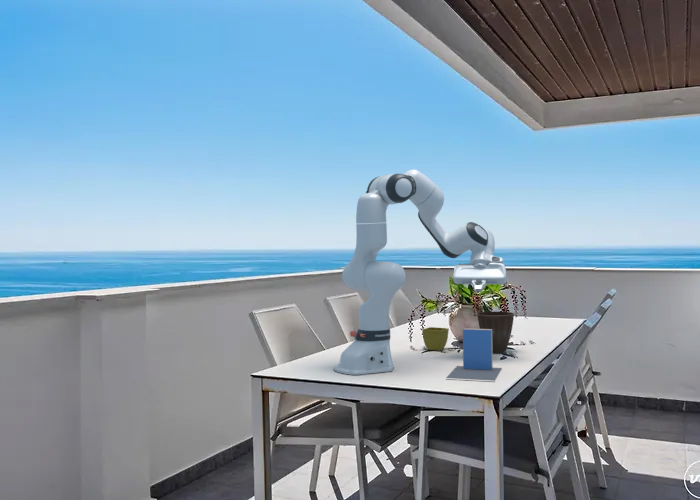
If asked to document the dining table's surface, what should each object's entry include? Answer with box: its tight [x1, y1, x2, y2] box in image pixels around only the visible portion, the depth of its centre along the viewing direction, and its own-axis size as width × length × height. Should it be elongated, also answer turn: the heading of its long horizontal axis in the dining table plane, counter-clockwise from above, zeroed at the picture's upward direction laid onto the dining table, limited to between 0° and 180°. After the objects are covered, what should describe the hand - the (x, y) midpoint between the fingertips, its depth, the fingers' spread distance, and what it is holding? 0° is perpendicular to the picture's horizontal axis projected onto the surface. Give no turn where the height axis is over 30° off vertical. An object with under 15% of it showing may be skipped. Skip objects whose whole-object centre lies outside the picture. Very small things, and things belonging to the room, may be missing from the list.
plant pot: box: [476, 311, 515, 354], centre depth 269 cm, size 15×15×16 cm
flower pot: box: [422, 326, 449, 352], centre depth 276 cm, size 9×9×9 cm
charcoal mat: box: [445, 365, 503, 383], centre depth 223 cm, size 22×16×1 cm
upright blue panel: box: [462, 328, 494, 370], centre depth 230 cm, size 2×10×14 cm, turn 71°
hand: (478, 290), depth 244 cm, fingers closed
